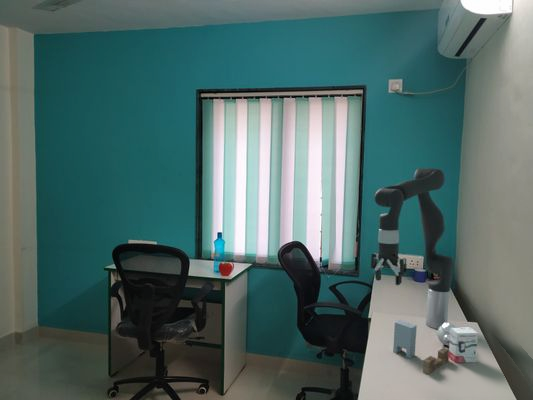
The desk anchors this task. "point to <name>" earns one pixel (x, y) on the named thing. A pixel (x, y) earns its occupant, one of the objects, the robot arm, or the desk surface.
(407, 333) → the notched block
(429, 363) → the notched rail
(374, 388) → the desk surface
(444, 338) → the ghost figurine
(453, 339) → the ink box
